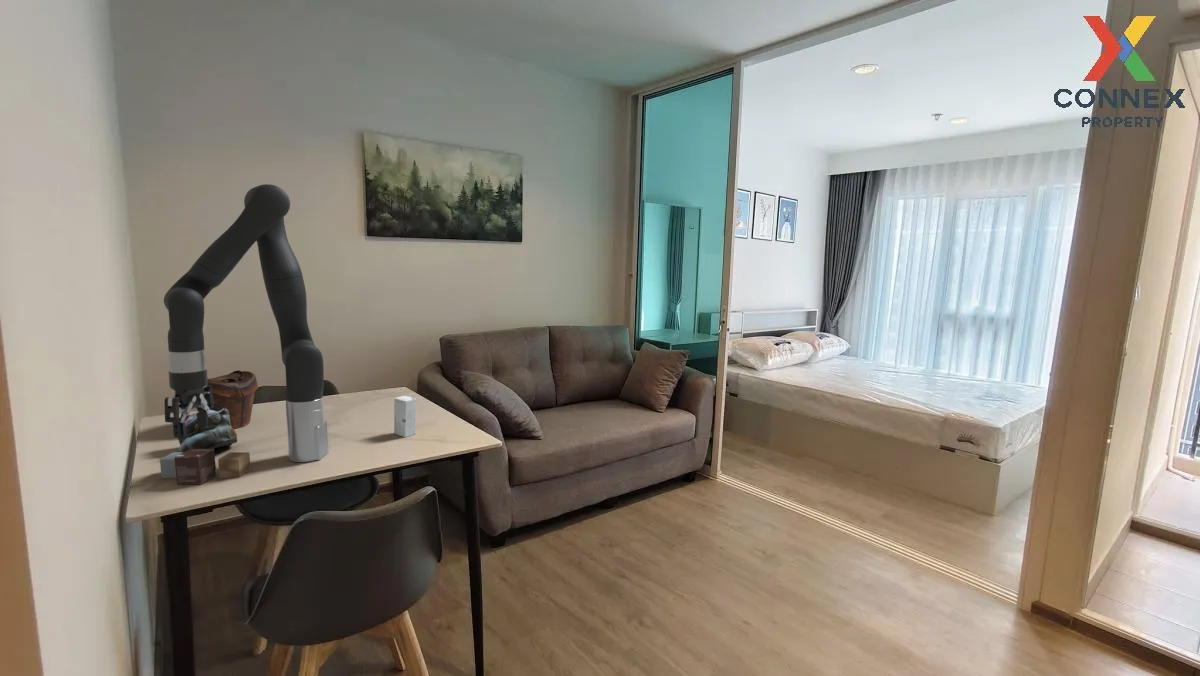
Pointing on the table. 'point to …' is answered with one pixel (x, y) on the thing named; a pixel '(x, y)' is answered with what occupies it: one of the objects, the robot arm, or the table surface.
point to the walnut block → (234, 464)
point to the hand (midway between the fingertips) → (191, 431)
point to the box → (195, 466)
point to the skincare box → (405, 416)
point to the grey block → (168, 465)
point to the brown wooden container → (235, 395)
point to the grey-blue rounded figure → (208, 431)
